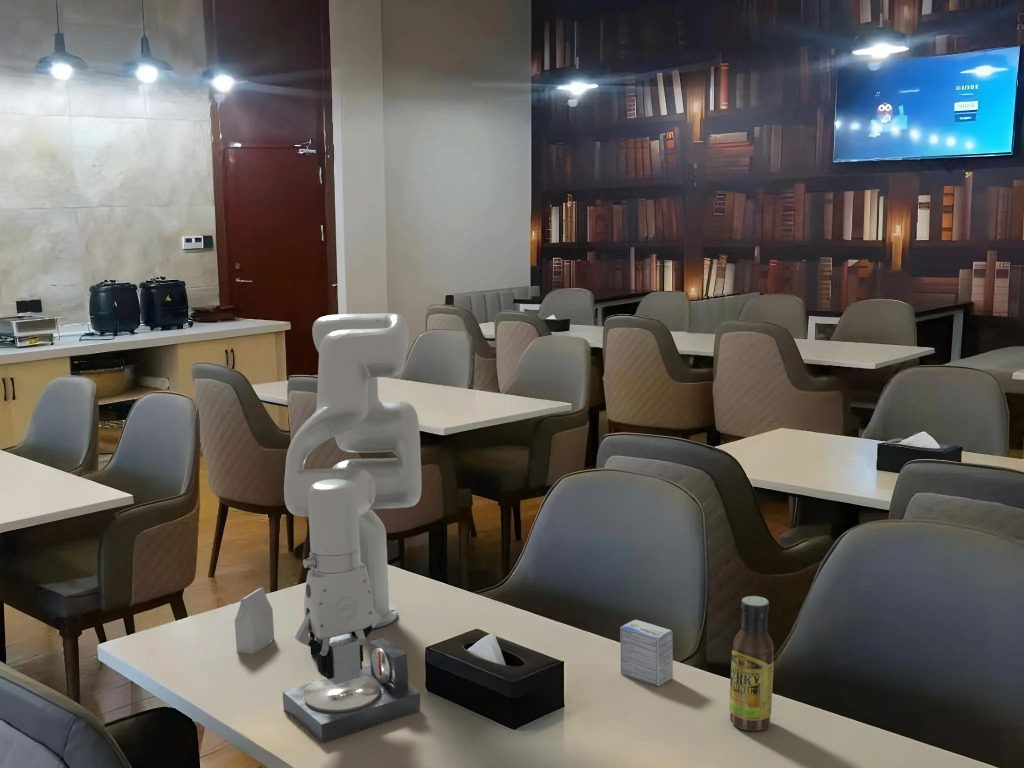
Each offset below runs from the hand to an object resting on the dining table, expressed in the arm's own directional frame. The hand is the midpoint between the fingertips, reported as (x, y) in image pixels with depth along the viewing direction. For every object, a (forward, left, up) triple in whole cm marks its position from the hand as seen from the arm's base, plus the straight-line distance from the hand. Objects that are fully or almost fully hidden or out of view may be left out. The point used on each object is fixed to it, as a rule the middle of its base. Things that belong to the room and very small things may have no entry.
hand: (341, 670), depth 167 cm
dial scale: (0, +2, -7) cm, 7 cm away
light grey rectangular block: (0, 0, -1) cm, 1 cm away
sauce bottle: (+42, +48, -7) cm, 64 cm away
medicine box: (+20, +47, -7) cm, 51 cm away
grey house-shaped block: (-34, 0, -7) cm, 35 cm away
